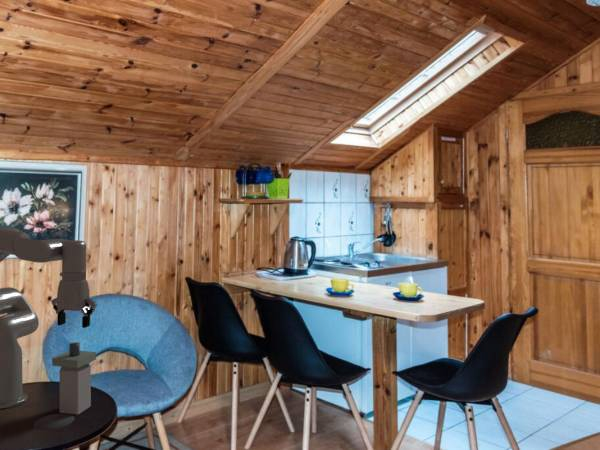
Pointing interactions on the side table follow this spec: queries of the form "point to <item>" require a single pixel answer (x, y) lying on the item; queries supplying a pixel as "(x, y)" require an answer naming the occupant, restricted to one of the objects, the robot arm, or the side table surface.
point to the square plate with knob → (74, 357)
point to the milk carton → (75, 389)
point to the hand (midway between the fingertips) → (73, 325)
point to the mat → (54, 421)
